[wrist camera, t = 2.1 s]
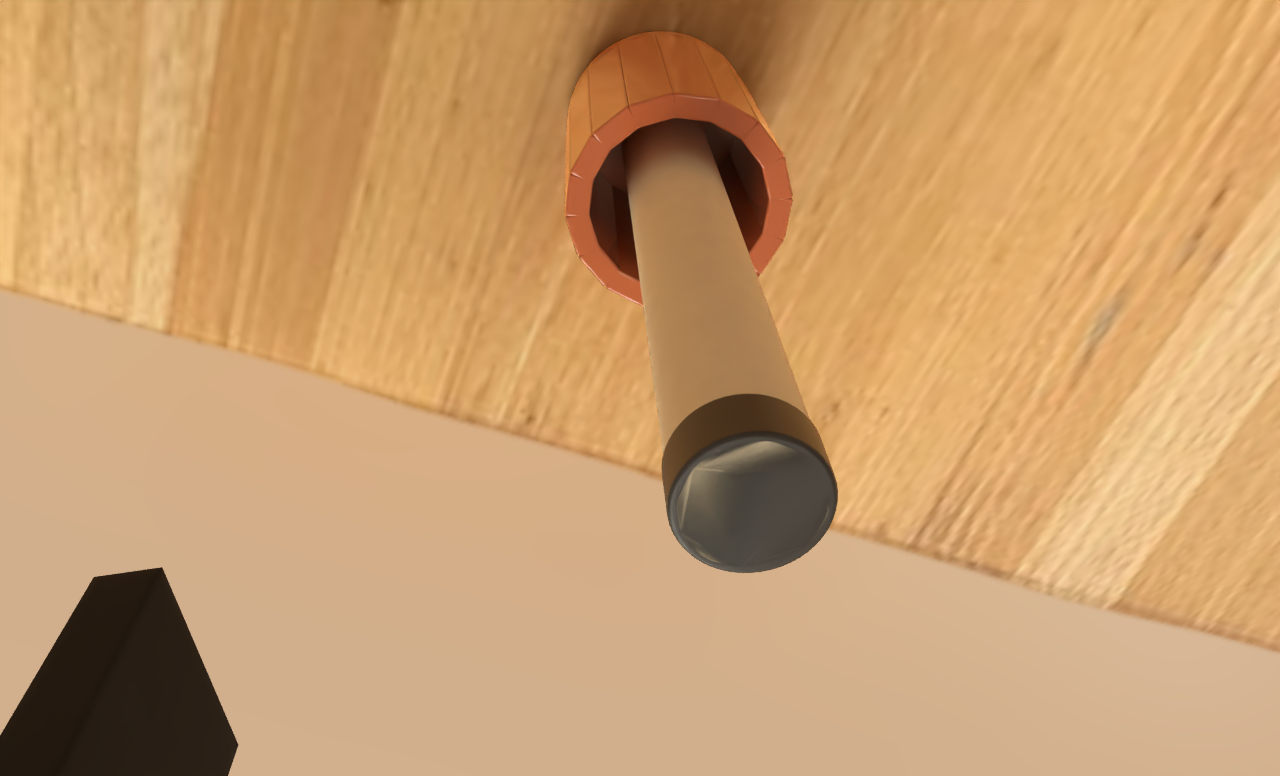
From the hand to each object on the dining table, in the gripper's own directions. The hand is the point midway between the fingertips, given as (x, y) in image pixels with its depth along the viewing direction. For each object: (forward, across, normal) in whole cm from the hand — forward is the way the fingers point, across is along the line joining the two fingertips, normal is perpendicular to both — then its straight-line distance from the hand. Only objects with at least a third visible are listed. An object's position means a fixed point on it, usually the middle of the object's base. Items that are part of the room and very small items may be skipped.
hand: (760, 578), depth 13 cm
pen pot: (+18, 0, 0) cm, 18 cm away
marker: (+17, 0, 0) cm, 17 cm away
